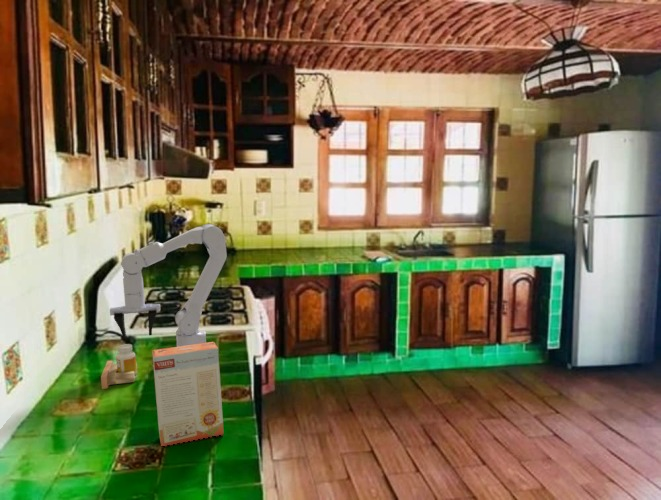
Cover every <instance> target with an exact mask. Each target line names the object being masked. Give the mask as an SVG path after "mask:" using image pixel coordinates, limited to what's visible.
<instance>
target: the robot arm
mask: <svg viewBox="0 0 661 500" xmlns="http://www.w3.org/2000/svg"><path fill="white" fill-rule="evenodd" d="M226 240H227V239H226V236H225V235H224V233H223V230H222V229H221V228H220V227H219V226H216V225H214V224H212V223H206V224H203V225H202V226H197V227H194V228H192V229H189V230H187V231H186V232H183V233H181V234H179V235H177V236H175V237H173V238H171V239H169V240H167V241H165V242H163V243H162V242H159V241H155V242H153V241H150V242H148V245H146V246H144V247H141V248H139V249H133V252H129V253H126V254H124V256H123V257H122V259H121V262H120V265H121V268H122V269H123V272H122V275H123V279H122V284H123V294H124V297H123V298H124V305H123V306H117V307H116V306H115V307H110V309H109V316H110V317H111V316H113V319H114V321H115V322H116V324H117V326H118V328H119V330H120V332H121V335H122V338H123V339H124V338H126V336H127V334H126V333H127V332H126V327H125V325H126V324H125V314H126V315H127V314H129V315H130V314H136V313H137V314H138V313H147V317H148V318H147V319H148V320H147V321H148V335H149V336H152V335H153V325H154V323H155V322H154V321H155V320H156V317H157V313H160V312H161V304H160V303H158V304H157V303H155V304H154V303H152V304H151V303H149V304H148V303H147V304H146V303H145V290H144V288H145V287H144V278H143V275H142V274H143V273H142V270H143V268H147V267H149V266H151V265H153V264H156V263H158V262H160V261H162V260H164V259H166V256H167V254H168V253H170V252H173V251H175V250H177V249H180V248H182V247H185V246H187V245H190V244H197V245H198V244H199V245H202V244H204V246H205V247H206V249H207V253H208V254H209V257H208V259H207V261H206V264H205V265H204V268H203V270H202V272H201V274H200V275H199V278H198V280H197V282H196V284H195V285H194V288H193V290H192V292H191V294H190V296H189V298H188V300H187V301H186V302H185V303H184V304H183V306H182V308H181V309H179V311H177V312H176V314H175V316H174V317H175V318H174V320H175V323H176V325H177V326H178V328H177V330H176V331H175V337H176V347H179V346H186V345H193V344H201V343H207V333H206V330H200V329H199V327H200V319H201V316H202V312H203V307H204V305H205V303H206V301H207V299H208V297H209V295H210V293H211V292H212V289H213V287H214V285H215V283H216V280H217V278H218V277H219V275H220V272H221V270H222V269H223V266H224V264H225V262H226V261H227V259H228V258H227V257H228V256H227V255H228V254H227V246H226V245H227V244H226Z"/></svg>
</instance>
